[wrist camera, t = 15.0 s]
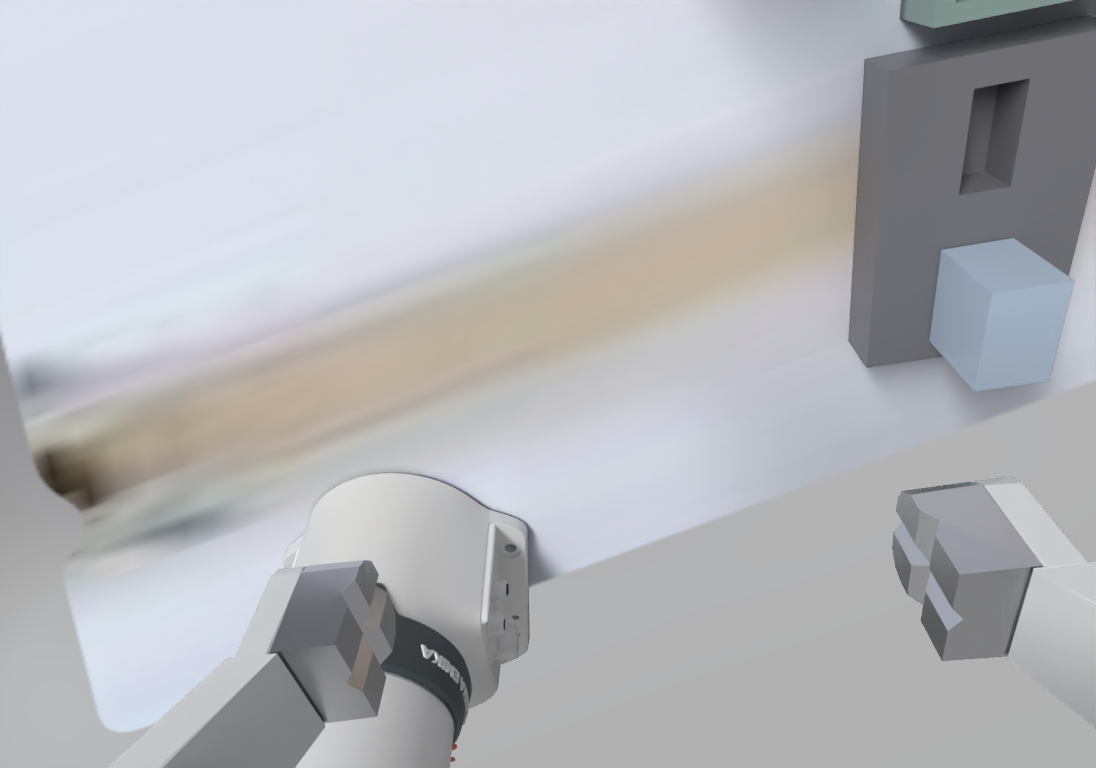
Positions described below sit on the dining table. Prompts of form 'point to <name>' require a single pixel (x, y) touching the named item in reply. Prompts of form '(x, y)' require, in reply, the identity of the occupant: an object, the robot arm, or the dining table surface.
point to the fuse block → (966, 168)
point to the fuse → (999, 313)
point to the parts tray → (963, 10)
